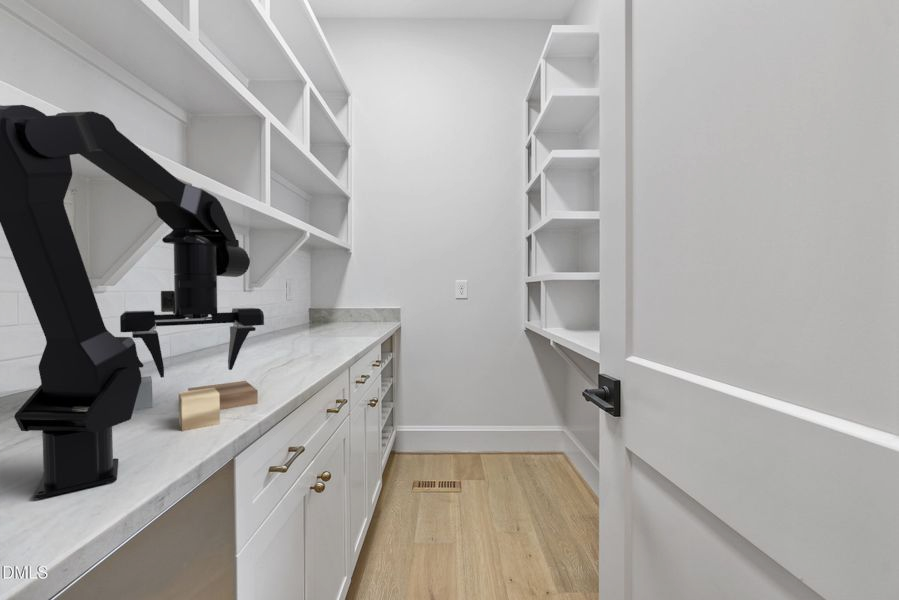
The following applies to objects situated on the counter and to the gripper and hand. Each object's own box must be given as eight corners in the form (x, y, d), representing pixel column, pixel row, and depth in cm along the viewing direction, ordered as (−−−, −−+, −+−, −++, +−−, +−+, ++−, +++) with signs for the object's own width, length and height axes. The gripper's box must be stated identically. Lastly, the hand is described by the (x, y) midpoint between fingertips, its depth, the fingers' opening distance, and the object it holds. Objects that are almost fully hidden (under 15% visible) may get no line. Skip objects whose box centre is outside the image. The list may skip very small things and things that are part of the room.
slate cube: (152, 408, 73) (152, 380, 72) (117, 413, 70) (116, 384, 69) (151, 402, 77) (151, 376, 76) (117, 406, 73) (117, 379, 73)
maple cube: (219, 424, 64) (219, 393, 63) (182, 431, 60) (181, 398, 60) (214, 416, 67) (214, 387, 67) (179, 423, 64) (178, 392, 64)
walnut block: (257, 406, 75) (257, 390, 75) (194, 416, 69) (194, 399, 69) (245, 395, 83) (245, 380, 83) (188, 403, 76) (188, 388, 76)
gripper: (248, 277, 75) (250, 359, 76) (120, 275, 64) (122, 372, 64) (264, 275, 67) (265, 368, 67) (118, 272, 55) (121, 385, 55)
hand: (197, 373), depth 64 cm, fingers open, 9 cm apart
